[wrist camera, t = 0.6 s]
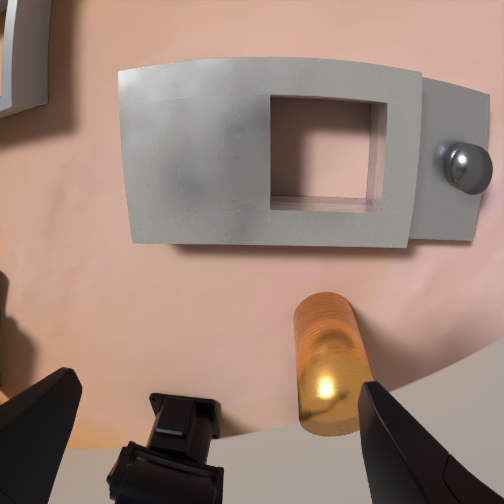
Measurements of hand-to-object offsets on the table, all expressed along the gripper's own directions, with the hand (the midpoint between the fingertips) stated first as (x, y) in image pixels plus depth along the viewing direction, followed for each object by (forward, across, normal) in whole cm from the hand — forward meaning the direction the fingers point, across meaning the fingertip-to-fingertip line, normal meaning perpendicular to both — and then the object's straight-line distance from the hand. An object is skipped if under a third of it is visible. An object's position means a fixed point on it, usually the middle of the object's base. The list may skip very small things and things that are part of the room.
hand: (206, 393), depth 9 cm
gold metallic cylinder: (+13, -6, +7) cm, 16 cm away
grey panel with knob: (+13, -5, -5) cm, 15 cm away
